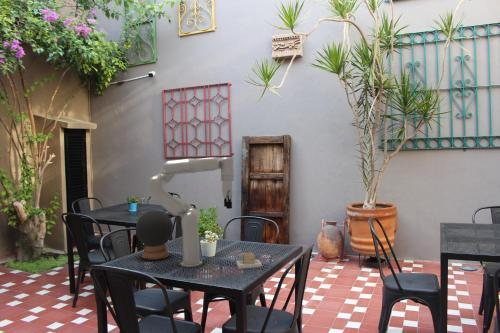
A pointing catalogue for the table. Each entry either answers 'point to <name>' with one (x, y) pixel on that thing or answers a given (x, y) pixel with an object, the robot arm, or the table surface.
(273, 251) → the table surface
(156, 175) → the robot arm
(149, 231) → the decorative object
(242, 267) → the dish
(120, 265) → the table surface
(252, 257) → the oak cube
